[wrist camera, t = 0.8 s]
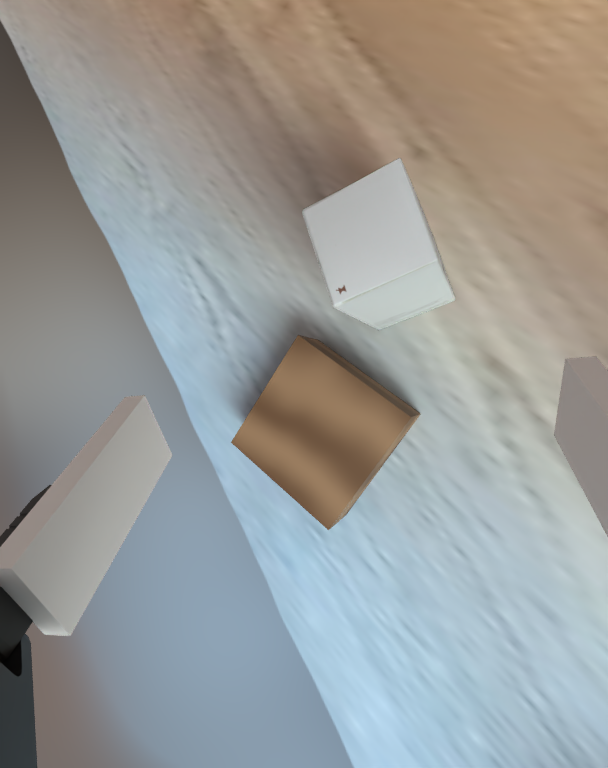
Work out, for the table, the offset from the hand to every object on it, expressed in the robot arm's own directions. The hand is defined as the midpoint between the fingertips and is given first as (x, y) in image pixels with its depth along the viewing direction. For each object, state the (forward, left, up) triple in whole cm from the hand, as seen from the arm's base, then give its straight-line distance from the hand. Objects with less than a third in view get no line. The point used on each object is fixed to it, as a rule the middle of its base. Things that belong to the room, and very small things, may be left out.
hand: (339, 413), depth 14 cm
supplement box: (-7, -8, -26) cm, 28 cm away
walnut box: (+8, -6, -26) cm, 28 cm away
